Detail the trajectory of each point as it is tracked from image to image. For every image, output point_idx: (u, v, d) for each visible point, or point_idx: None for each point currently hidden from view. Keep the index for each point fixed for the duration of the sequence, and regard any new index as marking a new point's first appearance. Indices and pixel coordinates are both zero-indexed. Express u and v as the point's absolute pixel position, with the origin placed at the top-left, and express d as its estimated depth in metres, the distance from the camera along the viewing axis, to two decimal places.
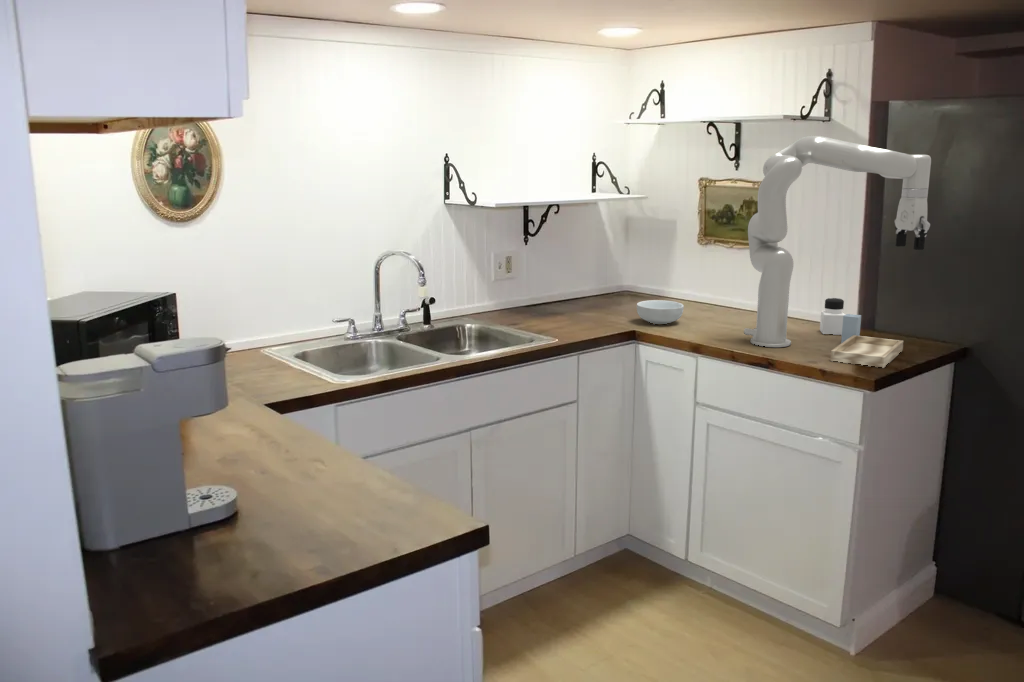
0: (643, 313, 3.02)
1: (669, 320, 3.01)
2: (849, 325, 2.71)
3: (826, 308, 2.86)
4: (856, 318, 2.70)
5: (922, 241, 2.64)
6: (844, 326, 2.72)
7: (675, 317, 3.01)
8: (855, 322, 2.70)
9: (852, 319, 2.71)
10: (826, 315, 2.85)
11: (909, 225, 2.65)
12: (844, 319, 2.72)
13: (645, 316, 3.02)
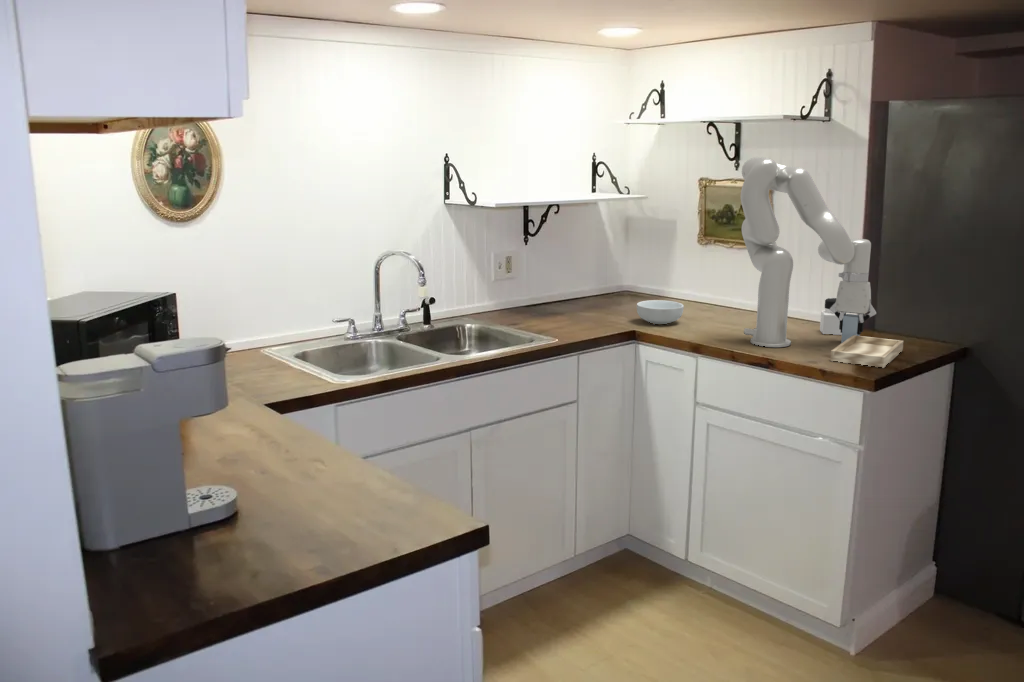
0: (643, 313, 3.02)
1: (669, 320, 3.01)
2: (849, 325, 2.71)
3: (826, 308, 2.86)
4: (856, 318, 2.70)
5: (863, 326, 2.72)
6: (844, 326, 2.72)
7: (675, 317, 3.01)
8: (855, 322, 2.70)
9: (852, 319, 2.71)
10: (826, 315, 2.85)
11: (861, 309, 2.68)
12: (844, 319, 2.72)
13: (645, 316, 3.02)
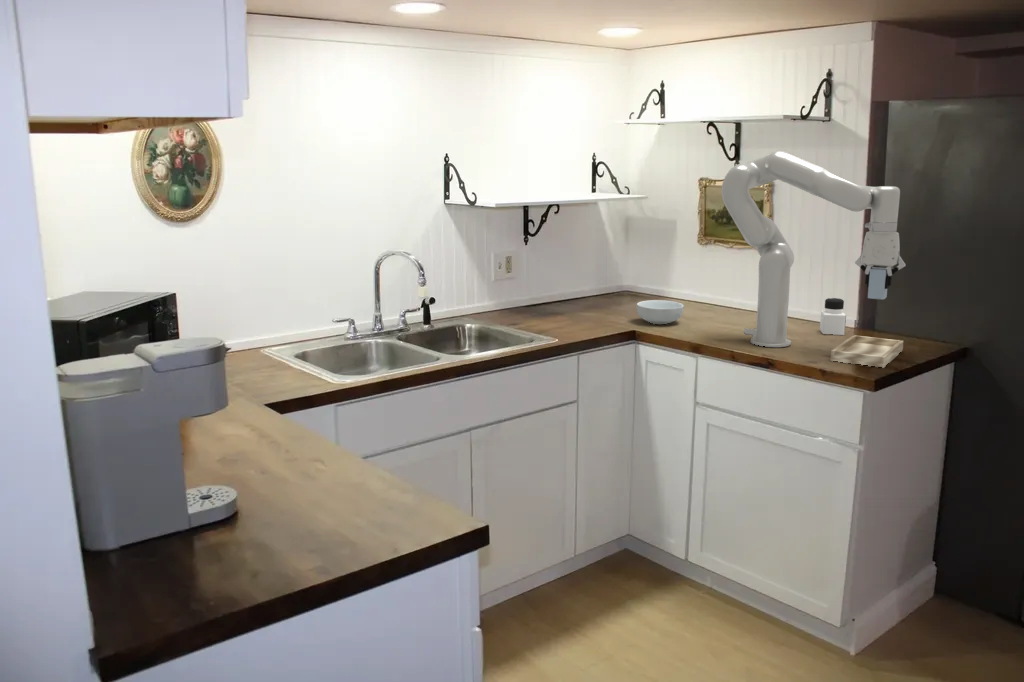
0: (643, 313, 3.02)
1: (669, 320, 3.01)
2: (876, 279, 2.55)
3: (826, 308, 2.86)
4: (884, 271, 2.53)
5: (891, 279, 2.55)
6: (871, 280, 2.56)
7: (675, 317, 3.01)
8: (883, 275, 2.53)
9: (880, 272, 2.54)
10: (826, 315, 2.85)
11: (889, 261, 2.51)
12: (871, 272, 2.55)
13: (645, 316, 3.02)
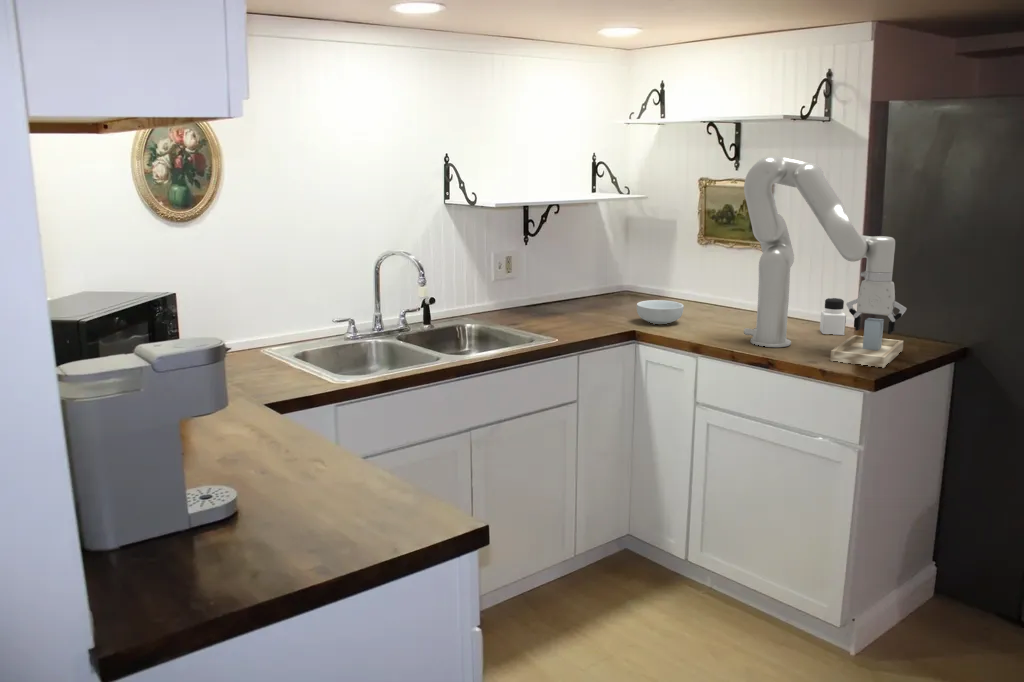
0: (643, 313, 3.02)
1: (669, 320, 3.01)
2: (871, 330, 2.58)
3: (826, 308, 2.86)
4: (879, 322, 2.57)
5: (894, 325, 2.57)
6: (866, 331, 2.59)
7: (675, 317, 3.01)
8: (877, 327, 2.57)
9: (874, 324, 2.57)
10: (826, 315, 2.85)
11: (884, 310, 2.54)
12: (866, 323, 2.59)
13: (645, 316, 3.02)
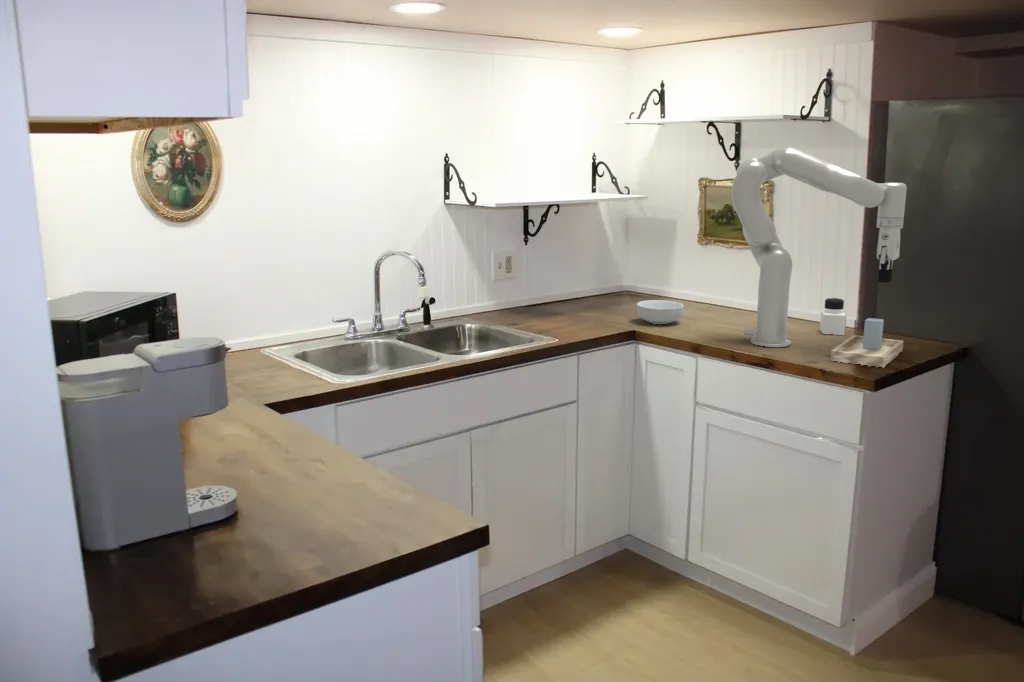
0: (643, 313, 3.02)
1: (669, 320, 3.01)
2: (871, 330, 2.58)
3: (826, 308, 2.86)
4: (879, 322, 2.57)
5: None
6: (866, 331, 2.59)
7: (675, 317, 3.01)
8: (877, 327, 2.57)
9: (874, 324, 2.57)
10: (826, 315, 2.85)
11: (898, 253, 2.63)
12: (866, 323, 2.59)
13: (645, 316, 3.02)
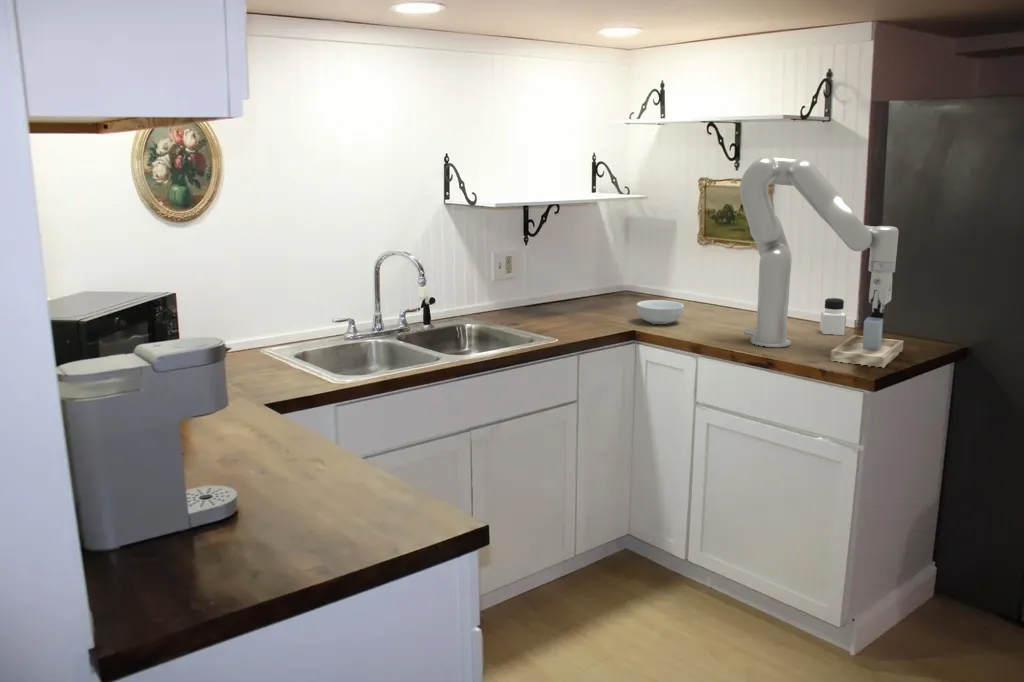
0: (643, 313, 3.02)
1: (669, 320, 3.01)
2: (870, 331, 2.58)
3: (826, 308, 2.86)
4: (878, 323, 2.56)
5: None
6: (865, 331, 2.59)
7: (675, 317, 3.01)
8: (877, 328, 2.56)
9: (873, 324, 2.56)
10: (826, 315, 2.85)
11: (890, 296, 2.61)
12: (865, 324, 2.58)
13: (645, 316, 3.02)
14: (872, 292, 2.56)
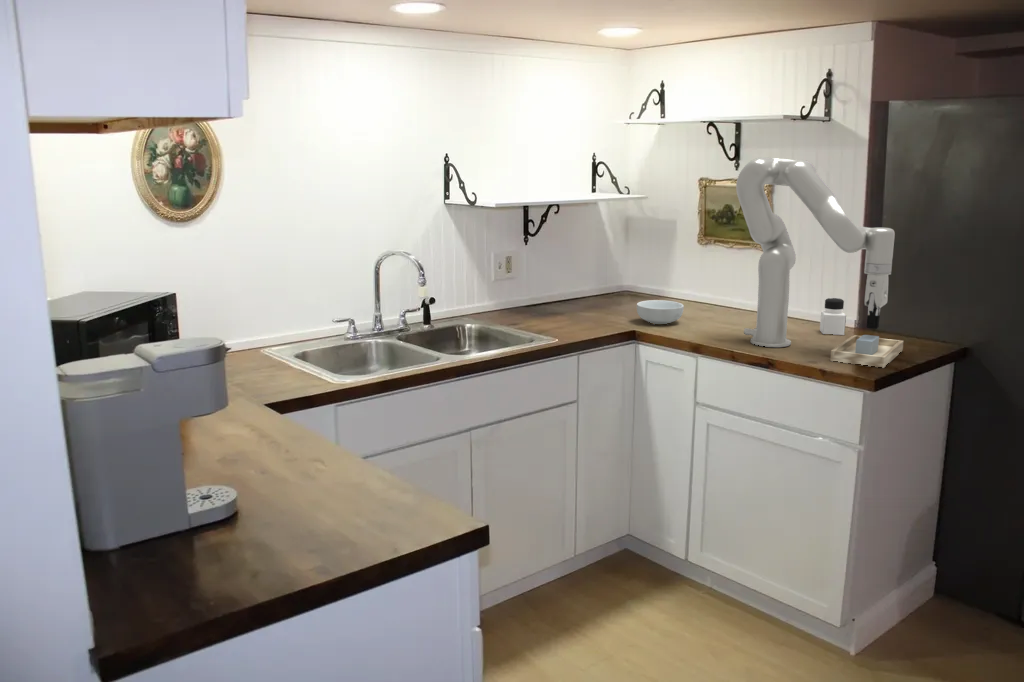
0: (643, 313, 3.02)
1: (669, 320, 3.01)
2: None
3: (826, 308, 2.86)
4: None
5: None
6: None
7: (675, 317, 3.01)
8: None
9: None
10: (826, 315, 2.85)
11: (886, 299, 2.57)
12: None
13: (645, 316, 3.02)
14: (868, 295, 2.52)
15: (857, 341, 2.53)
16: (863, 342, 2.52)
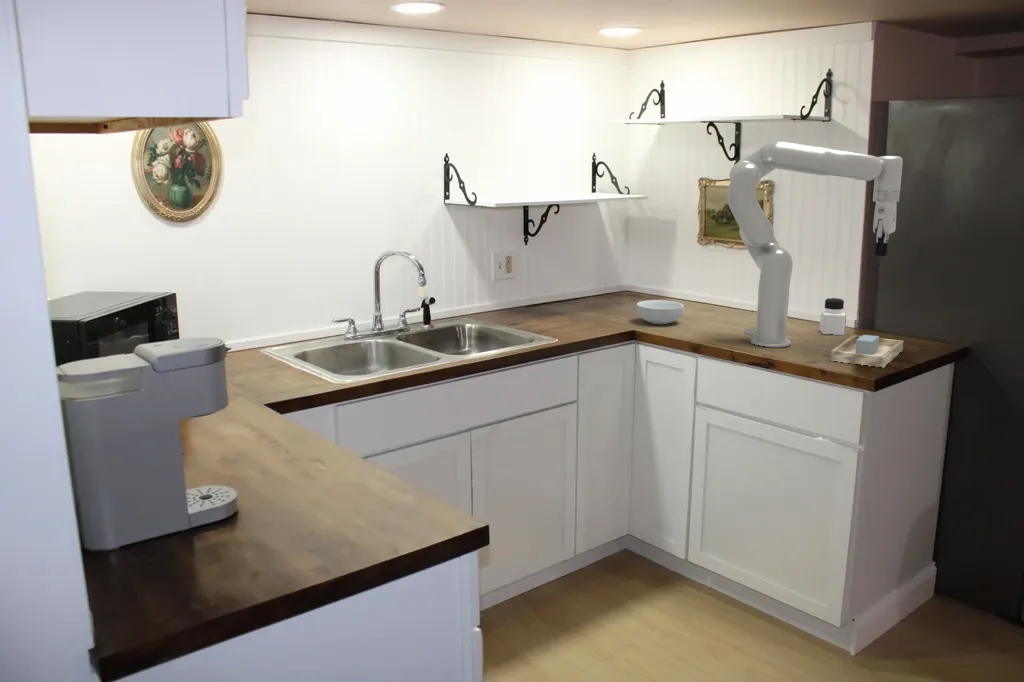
0: (643, 313, 3.02)
1: (669, 320, 3.01)
2: None
3: (826, 308, 2.86)
4: None
5: None
6: None
7: (675, 317, 3.01)
8: None
9: None
10: (826, 315, 2.85)
11: (895, 227, 2.63)
12: None
13: (645, 316, 3.02)
14: (876, 221, 2.58)
15: (857, 341, 2.53)
16: (863, 342, 2.52)
